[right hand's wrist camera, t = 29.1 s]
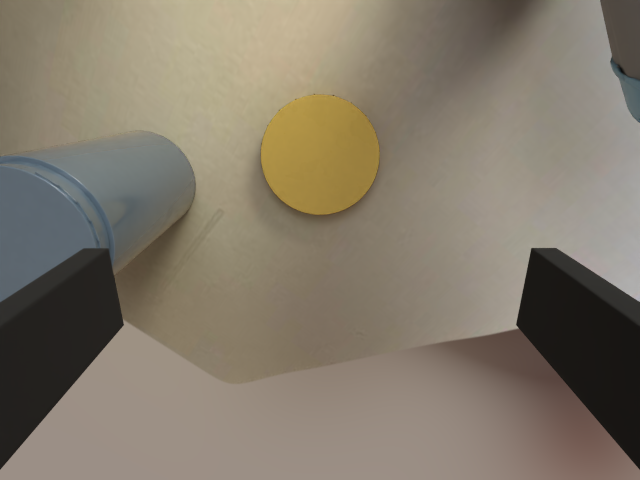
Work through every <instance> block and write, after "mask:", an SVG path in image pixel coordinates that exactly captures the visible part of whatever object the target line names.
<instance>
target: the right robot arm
mask: <svg viewBox="0 0 640 480" xmlns="http://www.w3.org/2000/svg"><path fill="white" fill-rule="evenodd" d="M600 1H601V6H602V11H603V15H604V20H605V25H606V29H607V34H608V38H609V43H610V48H611V52H612V58H611V61H610V62H611V67H612V70H613V71H614V73H615V75H616V76H617V77H619V80H620V83H621V87H622V90H623V93H624V97H625V100H626V104H627V107H628V109H629V111H630V113H631V114H632V116H633V117H634V118H635V119H636V120H637V121H638V122H640V0H600ZM123 325H124V324H123V319H122V314H121V309H120V304H119V299H118V294H117V289H116V284H115V278H114V273H113V268H112V263H111V258H110V253H109V248H83V249H82V250H80V251H79V252H77V253H76V254H74V255H73V256H71V257H69V258H68V259H66V260H65V261H63V262H62V263H60V264H59V265H57V266H56V267H54V268H52V269H51V270H49V271H48V272H46V273H45V274H43V275H42V276H40V277H39V278H37V279H35V280H34V281H32V282H31V283H29V284H28V285H26V286H25V287H23V288H22V289H20V290H18V291H17V292H15V293H14V294H12V295H11V296H9V297H8V298H6V299H5V300H3V301H1V302H0V469H1V468H2V467H3V466H4V465H5V463H6V462H7V461H8V460H9V459H10V458H11V456H12V455H13V454H14V453H15V452H16V450H17V449H18V448H19V447H20V446H21V445H22V444H23V442H24V441H25V440H26V439H27V438H28V436H29V435H30V434H31V433H32V432H33V431H34V429H35V428H36V427H37V426H38V425H39V423H40V422H41V421H42V420H43V419H44V418H45V417H46V415H47V414H48V413H49V412H50V411H51V410H52V408H53V407H54V406H55V405H56V404H57V403H58V401H59V400H60V399H61V398H62V397H63V395H64V394H65V393H66V392H67V391H68V390H69V388H70V387H71V386H72V385H73V384H74V383H75V381H76V380H77V379H78V378H79V377H80V376H81V374H82V373H83V372H84V371H85V370H86V369H87V367H88V366H89V365H90V364H91V363H92V362H93V360H94V359H95V358H96V357H97V356H98V354H99V353H100V352H101V351H102V350H103V349H104V348H105V346H106V345H107V344H108V343H109V342H110V341H111V339H112V338H113V337H114V336H115V335H116V333H117V332H118V331H119V330H120V329H121V328H122V326H123ZM516 325H517V326H518V328H519V329H520V330H521V331H522V332H523V333H524V335H525V336H526V337H527V338H528V339H529V341H530V342H531V343H532V344H533V345H534V346H535V348H536V349H537V350H538V351H539V352H540V353H541V355H542V356H543V357H544V358H545V359H546V360H547V362H548V363H549V364H550V365H551V366H552V367H553V369H554V370H555V371H556V372H557V373H558V374H559V376H560V377H561V378H562V379H563V380H564V381H565V383H566V384H567V385H568V386H569V387H570V388H571V390H572V391H573V392H574V393H575V394H576V396H577V397H578V398H579V399H580V400H581V401H582V403H583V404H584V405H585V406H586V407H587V408H588V410H589V411H590V412H591V413H592V414H593V415H594V417H595V418H596V419H597V420H598V421H599V422H600V424H601V425H602V426H603V427H604V428H605V429H606V431H607V432H608V433H609V434H610V435H611V436H612V438H613V439H614V440H615V441H616V442H617V443H618V445H619V446H620V447H621V448H622V449H623V450H624V452H625V453H626V454H627V455H628V456H629V458H630V459H631V460H632V461H633V462H634V463H635V465H636V466H637V467H638V468H639V469H640V302H639V301H637V300H635V299H634V298H632V297H631V296H629V295H628V294H626V293H625V292H623V291H622V290H620V289H618V288H617V287H615V286H614V285H612V284H611V283H609V282H608V281H606V280H605V279H603V278H601V277H600V276H598V275H597V274H595V273H594V272H592V271H591V270H589V269H588V268H586V267H584V266H583V265H581V264H580V263H578V262H577V261H575V260H574V259H572V258H571V257H569V256H567V255H566V254H564V253H563V252H561V251H560V250H558V249H557V248H531V253H530V258H529V263H528V268H527V273H526V278H525V284H524V289H523V294H522V299H521V304H520V309H519V314H518V319H517V324H516Z"/></svg>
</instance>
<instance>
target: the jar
mask: <svg viewBox="0 0 640 480" xmlns="http://www.w3.org/2000/svg"><path fill="white" fill-rule="evenodd" d="M194 194H195V177H194V173H193V170H192V167H191V165H190V163H189V161H188V159H187V158H186V156H185V155H184V153H183V152H182V151H181V150H180V149H179V148H178V147H177V146H176V145H175V144H174V143H172V142H171V141H170V140H168V139H166V138H165V137H163V136H160V135H158V134H155V133H152V132H147V131H131V132H125V133H120V134H115V135H109V136H104V137H99V138H94V139H88V140H83V141H78V142H73V143H67V144H62V145H57V146H52V147H47V148H41V149H36V150H31V151H26V152H20V153H15V154H10V155H5V156H0V302H1V301H3V300H5V299H6V298H8V297H9V296H11V295H12V294H14V293H15V292H17V291H18V290H20V289H22V288H23V287H25V286H26V285H28V284H29V283H31V282H32V281H34V280H35V279H37V278H39V277H40V276H42V275H43V274H45V273H46V272H48V271H49V270H51V269H52V268H54V267H56V266H57V265H59V264H60V263H62V262H63V261H65V260H66V259H68V258H69V257H71V256H73V255H74V254H76V253H77V252H79V251H80V250H82V249H83V248H109V253H110V258H111V263H112V268H113V273H114V276H115V275H116V274H117V273H119V272H120V271H121V270H122V269H123V268H124V267H125V266H127V265H128V264H129V263H130V262H131V261H132V260H133V259H135V258H136V257H137V256H138V255H139V254H140V253H141V252H142V251H144V250H145V249H146V248H147V247H148V246H149V245H150V244H152V243H153V242H154V241H155V240H156V239H157V238H158V237H160V236H161V235H162V234H163V233H164V232H165V231H166V230H167V229H169V228H170V227H171V226H172V225H173V224H174V223H175V222H177V221H178V220H179V219H180V218H181V217H182V216H183V215H184V214H185V213H186V212H187V211H188V209H189V208H190V206H191V204H192V202H193V199H194Z"/></svg>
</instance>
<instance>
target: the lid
mask: <svg viewBox="0 0 640 480" xmlns="http://www.w3.org/2000/svg"><path fill="white" fill-rule="evenodd" d="M261 145H262V146H261V164H262V169H263V173H264V175H265V178H266V180H267V182H268V184H269V186H270V188H271V189H272V190H273V192H274V193H275V194H276V195H277V196H278V197H279V198H280V199H281V200H282V201H283V202H284V203H286V204H287V205H289V206H290V207H292V208H294V209H296V210H298V211H301V212H304V213H308V214H315V215H325V214H332V213H336V212H339V211H342V210H344V209H346V208H348V207H350V206H352V205H353V204H355V203H356V202H357V201H358V200H360V199H361V198H362V197H363V196H364V195H365V194H366V192H367V191H368V189H369V188H370V187H371V185H372V183H373V181H374V179H375V176H376V174H377V171H378V166H379V152H380V151H379V143H378V139H377V136H376V132H375V131H374V128H373V126H372V125H371V123H370V121H369V120H368V118H367V116H366V115H364V114H363V113H362V112H361V111H360V110H359V109H358V108H357V107H356V106H354V105H353V104H352V103H351V102H348V101H346V100H344V99H341V98H338V97H335V96H334V95H333V96H330V95H315V94H314V95H310V96H305V97H302V98H299V99H295V101H293V102H291V103H289V104H288V105H286V106H285V107H283V108H282V109H280V110H279V112H278V113H277V114H276V115H275V116H274V118H273V119H272V120H271V122H270V124H269V125H268V127H267V129H266V131H265V134H264V137H263V140H262V143H261Z"/></svg>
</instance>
